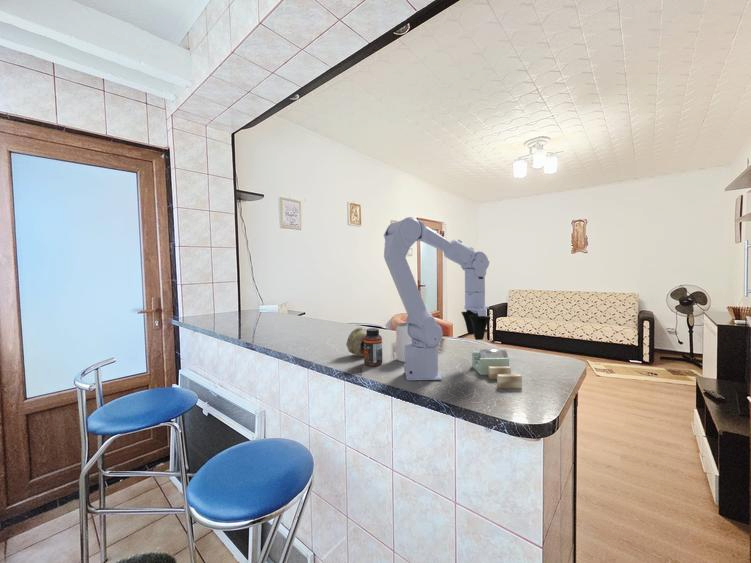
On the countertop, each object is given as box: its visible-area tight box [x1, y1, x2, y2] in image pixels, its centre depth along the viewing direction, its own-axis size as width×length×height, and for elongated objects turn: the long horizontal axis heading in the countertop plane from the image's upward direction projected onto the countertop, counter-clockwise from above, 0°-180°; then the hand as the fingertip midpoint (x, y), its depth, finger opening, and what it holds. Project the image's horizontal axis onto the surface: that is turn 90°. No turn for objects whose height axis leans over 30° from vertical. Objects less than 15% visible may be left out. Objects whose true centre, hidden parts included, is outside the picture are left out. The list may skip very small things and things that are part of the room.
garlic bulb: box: [345, 326, 367, 358], centre depth 108 cm, size 9×8×10 cm
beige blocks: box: [487, 365, 523, 389], centre depth 80 cm, size 6×8×3 cm
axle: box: [478, 348, 508, 358], centre depth 89 cm, size 7×4×4 cm, turn 89°
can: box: [395, 322, 412, 363], centre depth 102 cm, size 6×6×12 cm
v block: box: [471, 351, 510, 376], centre depth 90 cm, size 8×8×4 cm
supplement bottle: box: [363, 327, 383, 367], centre depth 98 cm, size 6×6×11 cm
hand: (475, 336), depth 92 cm, fingers open, 7 cm apart
